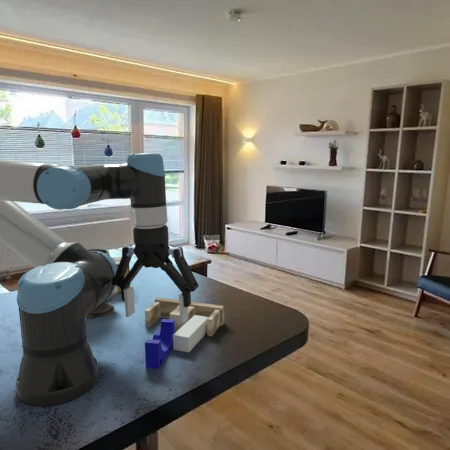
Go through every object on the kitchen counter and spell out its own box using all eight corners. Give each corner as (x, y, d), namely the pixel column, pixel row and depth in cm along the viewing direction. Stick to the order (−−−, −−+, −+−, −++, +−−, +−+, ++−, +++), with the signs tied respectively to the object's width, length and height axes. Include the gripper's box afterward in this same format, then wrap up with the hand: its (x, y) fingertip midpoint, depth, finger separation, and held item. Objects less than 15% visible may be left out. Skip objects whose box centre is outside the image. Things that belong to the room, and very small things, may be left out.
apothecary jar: (77, 322, 103) (72, 259, 100) (73, 306, 114) (69, 249, 111) (121, 314, 109) (119, 254, 105) (114, 300, 119) (111, 245, 116)
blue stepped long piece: (157, 341, 93) (156, 318, 92) (175, 342, 93) (174, 319, 91) (139, 367, 82) (138, 341, 81) (159, 369, 81) (158, 343, 80)
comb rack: (214, 336, 95) (214, 318, 94) (143, 325, 101) (142, 308, 100) (224, 323, 103) (224, 305, 102) (158, 313, 109) (157, 297, 108)
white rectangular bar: (188, 353, 88) (188, 337, 87) (173, 350, 89) (173, 334, 88) (208, 331, 99) (208, 317, 98) (194, 329, 100) (194, 314, 99)
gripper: (210, 223, 82) (214, 315, 85) (111, 221, 89) (118, 306, 93) (197, 230, 74) (202, 330, 78) (90, 227, 82) (99, 318, 86)
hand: (156, 317), depth 85 cm, fingers open, 13 cm apart
